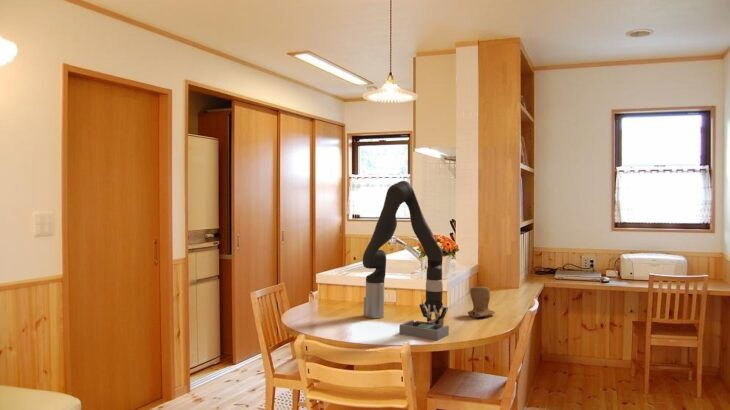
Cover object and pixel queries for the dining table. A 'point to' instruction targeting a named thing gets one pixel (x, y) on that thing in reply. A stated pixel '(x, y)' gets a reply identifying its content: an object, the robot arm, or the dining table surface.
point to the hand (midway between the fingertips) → (433, 327)
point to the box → (423, 331)
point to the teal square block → (426, 326)
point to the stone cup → (480, 302)
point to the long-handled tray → (431, 323)
